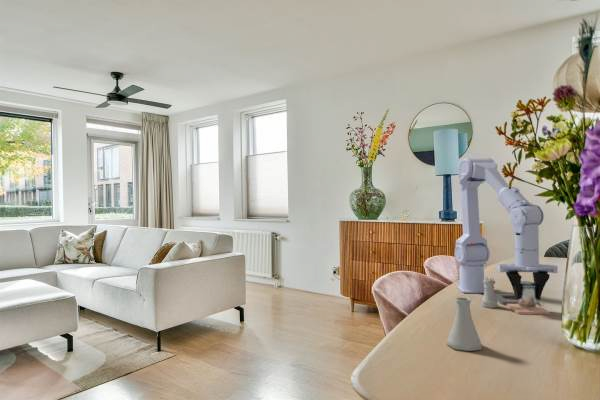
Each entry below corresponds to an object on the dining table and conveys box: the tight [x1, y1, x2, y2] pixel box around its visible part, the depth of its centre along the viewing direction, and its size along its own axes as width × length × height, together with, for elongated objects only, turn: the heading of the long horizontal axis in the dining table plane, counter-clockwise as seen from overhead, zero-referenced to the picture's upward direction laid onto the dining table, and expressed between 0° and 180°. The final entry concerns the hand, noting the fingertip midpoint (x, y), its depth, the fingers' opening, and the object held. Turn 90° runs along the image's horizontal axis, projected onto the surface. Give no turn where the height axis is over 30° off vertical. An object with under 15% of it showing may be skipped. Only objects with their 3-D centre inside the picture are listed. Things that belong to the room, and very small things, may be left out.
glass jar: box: [517, 280, 537, 308], centre depth 109 cm, size 5×5×6 cm
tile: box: [506, 304, 551, 316], centre depth 108 cm, size 8×8×1 cm
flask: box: [446, 296, 483, 352], centre depth 84 cm, size 7×7×10 cm
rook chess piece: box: [480, 277, 499, 309], centre depth 113 cm, size 4×4×8 cm
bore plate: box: [494, 293, 541, 306], centre depth 118 cm, size 10×10×1 cm
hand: (527, 298), depth 108 cm, fingers closed on glass jar, 4 cm apart
